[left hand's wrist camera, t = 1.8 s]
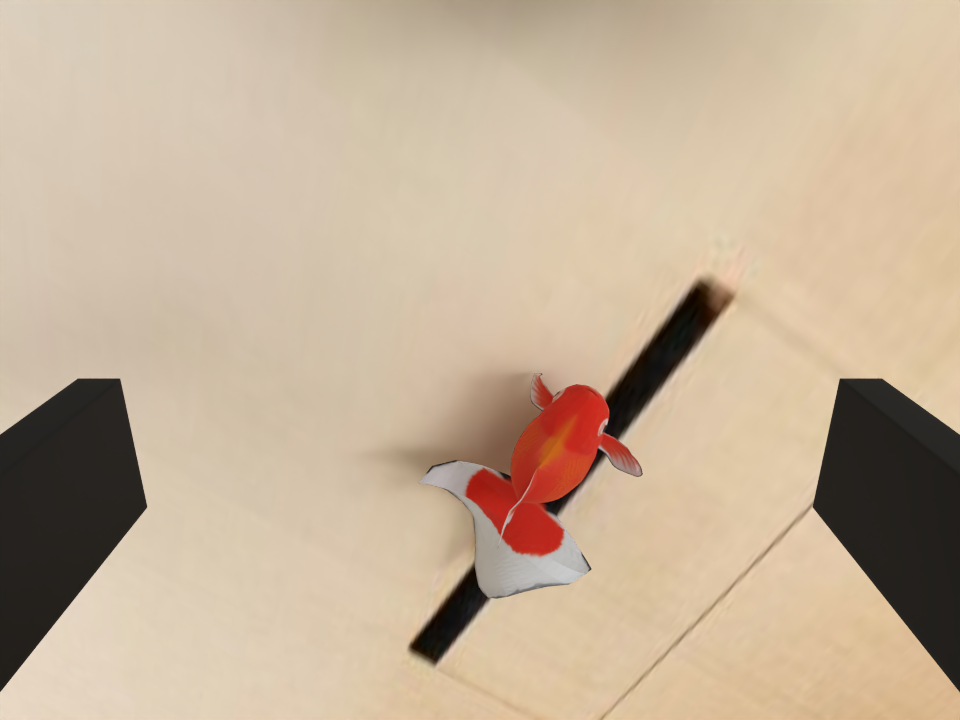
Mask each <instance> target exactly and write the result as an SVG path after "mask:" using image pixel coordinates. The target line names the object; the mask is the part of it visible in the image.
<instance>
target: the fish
mask: <svg viewBox="0 0 960 720" xmlns="http://www.w3.org/2000/svg"><path fill="white" fill-rule="evenodd" d="M540 375H542V373H539V374H534V376H533V380H532V383H531V401H532V403H533V404H534V405H535V406H536V407H537V408H539V409H540V410H542V413H541V414H540V416H538V417H537V418H536V419H534V420H533V421H532V422H531V423H530V424H529V425H528V427H527V428H526V429H525V431H524V432H523V434H522V436H521V437H520V439H519V440H518V442H517V444H516V446H515V449H514V452H513V456H512V460H511V476H509V475H507V474H504V473H502V472H499V471H496V470H494V469H491V468H489V467H486V466H483V465H479V464H474V463H470V462H463V461H457V460H455V461H451V462H447V463H443V464H439V465H435V466H432V467H431V468H430V469H429V471H428V472H427V473H426V474H425V476H424V477H423V478H422V480H421V481H420V482H419V483H423V484H429V485H434V486H438V487H441V488H443V489H445V490H447V491H449V492H450V493H451V494H453V495H454V496H455V497H457V498H458V499H459V500H461V501H462V502H463V503H464V505H465V506H466V507H467V508H468V509H469V510H470V512H471V513H472V514H473V518H474V528H475V539H476V545H475V570H476V575H477V580H478V584H479V587H480V589H481V590H482V592H483V593H484V594H485V595H486V596H487V597H488V598H502V597H508V596H511V595H515V594H518V593H522V592H525V591H529V590H534V589H538V588H543V587H547V586H557V585H568V584H570V583H572V582H574V581H575V580H577V579H578V578H580V577H582V576H583V575H585V574H586V573H587V572H589V571H590V570H591V567H590V566H589V564H588V562H587V561H586V559H585V557H584V556H583V554H582V552H581V551H580V549H579V548H578V546H577V544H576V543H575V541H574V540H573V538H572V537H571V536H570V534H569V533H568V531H567V530H566V529H565V527H564V526H563V525H562V523H561V522H560V520H559V519H558V518H557V516H556V515H555V514H554V512H553V511H552V510H551V509H550V507H549V506H548V505H547V504H546V503H544V502H549V501H554V500H557V499H559V498H561V497H563V496H564V495H565V494H567V493H568V492H569V491H571V490H572V489H573V488H574V487H576V486H577V485H578V484H579V483H580V482H581V481H582V480H583V478H584V477H585V475H586V474H587V472H588V470H589V468H590V466H591V464H592V463H593V461H594V459H595V456H596V453H597V449H600V450H601V451H603V452H604V453H605V454H606V455H607V457H608V458H609V460H610V462H611V463H612V465H613V466H614V467H616V468H617V469H619V470H621V471H623V472H626V473H628V474H631V475H633V476H636V477H639V476H641V475H642V474H643V473H642V469H641V467H640V465H639V463H638V461H637V460H636V459H635V458H634V457H633V456H632V454H631V453H630V451H629V449H628V448H627V447H626V446H624V445H623V444H622V443H621V442H619V441H618V440H617V439H616V438H614V437H612V436H610V435H608V434H606V433H604V431H605V429H606V427H607V423H608V420H609V408H608V406H607V404H606V401H605V399H604V398H603V396H602V395H601V394H600V393H599V392H598V391H597V390H595V389H593V388H591V387H589V386H586V385H578V384H576V385H573V386H569V387H567V388H565V389H563V390H561V391H559V392H558V393H557V394H556V395H555V396H553V395H552V394H551V393H550V392H549V390H548V389H547V387H546V386H545V385H544V384H543V382H542V381H541V379H540Z"/></svg>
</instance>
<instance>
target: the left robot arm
mask: <svg viewBox="0 0 960 720" xmlns="http://www.w3.org/2000/svg"><path fill="white" fill-rule="evenodd" d="M146 508H147V504H146V499H145V494H144V489H143V485H142V480H141V475H140V471H139V466H138V461H137V456H136V452H135V447H134V442H133V437H132V433H131V428H130V423H129V418H128V414H127V409H126V404H125V400H124V395H123V390H122V385H121V381H120V379H77V380H76V381H74V382H73V383H71V384H70V385H69V386H67V387H66V388H64V389H63V390H62V391H60V392H59V393H57V394H56V395H55V396H53V397H52V398H51V399H49V400H48V401H46V402H45V403H44V404H42V405H41V406H39V407H38V408H37V409H35V410H34V411H33V412H31V413H30V414H28V415H27V416H26V417H24V418H23V419H21V420H20V421H19V422H17V423H16V424H14V425H13V426H12V427H10V428H9V429H8V430H6V431H5V432H3V433H2V434H1V435H0V692H1V690H2V689H3V688H4V687H5V685H6V684H7V683H8V682H9V680H10V679H11V678H12V677H13V675H14V674H15V673H16V672H17V670H18V669H19V668H20V667H21V665H22V664H23V663H24V661H25V660H26V659H27V658H28V656H29V655H30V654H31V653H32V651H33V650H34V649H35V648H36V646H37V645H38V644H39V643H40V641H41V640H42V639H43V638H44V636H45V635H46V634H47V633H48V631H49V630H50V629H51V628H52V626H53V625H54V624H55V623H56V621H57V620H58V619H59V617H60V616H61V615H62V614H63V612H64V611H65V610H66V609H67V607H68V606H69V605H70V604H71V602H72V601H73V600H74V599H75V597H76V596H77V595H78V594H79V592H80V591H81V590H82V589H83V587H84V586H85V585H86V584H87V582H88V581H89V580H90V579H91V577H92V576H93V575H94V573H95V572H96V571H97V570H98V568H99V567H100V566H101V565H102V563H103V562H104V561H105V560H106V558H107V557H108V556H109V555H110V553H111V552H112V551H113V550H114V548H115V547H116V546H117V545H118V543H119V542H120V541H121V540H122V538H123V537H124V536H125V535H126V533H127V532H128V531H129V529H130V528H131V527H132V526H133V524H134V523H135V522H136V521H137V519H138V518H139V517H140V516H141V514H142V513H143V512H144V511H145V509H146ZM813 508H814V509H815V511H816V512H817V513H818V514H819V516H820V517H821V518H822V519H823V521H824V522H825V523H826V524H827V526H828V527H829V528H830V529H831V531H832V532H833V533H834V535H835V536H836V537H837V538H838V540H839V541H840V542H841V543H842V545H843V546H844V547H845V548H846V550H847V551H848V552H849V553H850V555H851V556H852V557H853V558H854V560H855V561H856V562H857V563H858V565H859V566H860V567H861V568H862V570H863V571H864V572H865V573H866V575H867V576H868V577H869V579H870V580H871V581H872V582H873V584H874V585H875V586H876V587H877V589H878V590H879V591H880V592H881V594H882V595H883V596H884V597H885V599H886V600H887V601H888V602H889V604H890V605H891V606H892V607H893V609H894V610H895V611H896V612H897V614H898V615H899V616H900V617H901V619H902V620H903V621H904V623H905V624H906V625H907V626H908V628H909V629H910V630H911V631H912V633H913V634H914V635H915V636H916V638H917V639H918V640H919V641H920V643H921V644H922V645H923V646H924V648H925V649H926V650H927V651H928V653H929V654H930V655H931V656H932V658H933V659H934V660H935V661H936V663H937V664H938V665H939V667H940V668H941V669H942V670H943V672H944V673H945V674H946V675H947V677H948V678H949V679H950V680H951V682H952V683H953V684H954V685H955V687H956V688H957V689H958V690H959V692H960V435H959V434H958V433H957V432H955V431H954V430H952V429H951V428H950V427H948V426H947V425H946V424H944V423H943V422H941V421H940V420H939V419H937V418H936V417H934V416H933V415H932V414H930V413H929V412H927V411H926V410H925V409H923V408H922V407H921V406H919V405H918V404H916V403H915V402H914V401H912V400H911V399H909V398H908V397H907V396H905V395H904V394H903V393H901V392H900V391H898V390H897V389H896V388H894V387H893V386H891V385H890V384H889V383H887V382H886V381H884V380H883V379H840V381H839V385H838V390H837V395H836V400H835V404H834V409H833V414H832V418H831V423H830V428H829V433H828V437H827V442H826V447H825V452H824V456H823V461H822V466H821V471H820V475H819V480H818V485H817V489H816V494H815V499H814V504H813Z"/></svg>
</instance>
